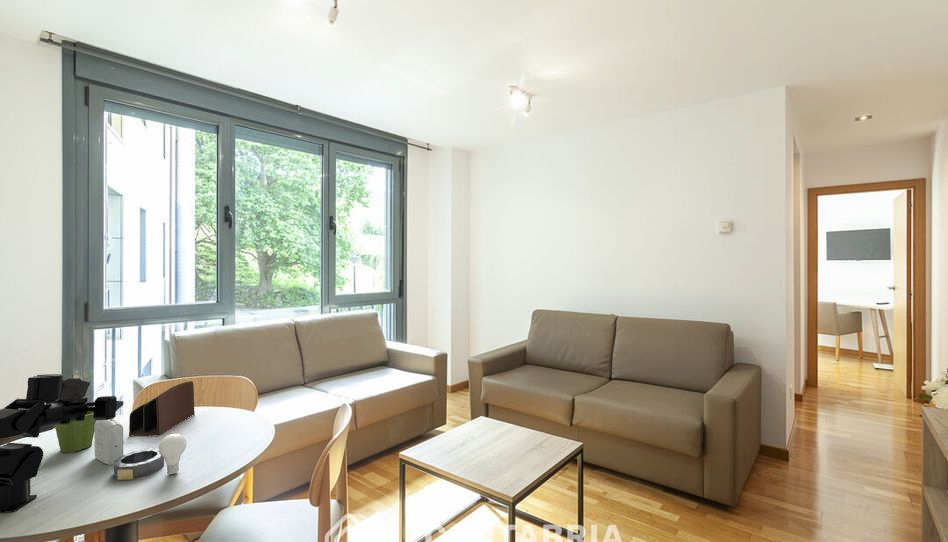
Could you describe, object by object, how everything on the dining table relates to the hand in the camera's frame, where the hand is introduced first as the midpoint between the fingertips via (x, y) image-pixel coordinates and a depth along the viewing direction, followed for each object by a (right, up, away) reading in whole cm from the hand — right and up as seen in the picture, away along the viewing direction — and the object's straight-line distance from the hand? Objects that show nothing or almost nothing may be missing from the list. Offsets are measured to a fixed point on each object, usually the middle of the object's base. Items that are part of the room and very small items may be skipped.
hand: (108, 403), depth 128 cm
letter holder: (-2, -16, +26) cm, 30 cm away
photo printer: (+1, -16, -1) cm, 16 cm away
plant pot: (-15, -16, +7) cm, 23 cm away
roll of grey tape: (+15, -16, -7) cm, 23 cm away
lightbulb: (+26, -17, -9) cm, 32 cm away
